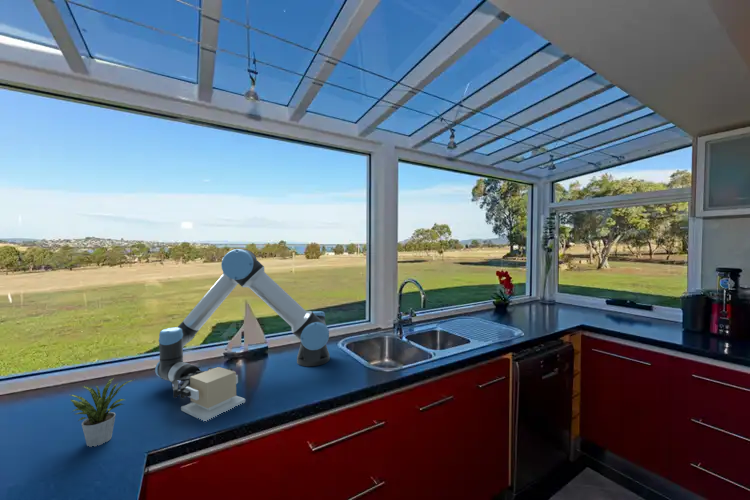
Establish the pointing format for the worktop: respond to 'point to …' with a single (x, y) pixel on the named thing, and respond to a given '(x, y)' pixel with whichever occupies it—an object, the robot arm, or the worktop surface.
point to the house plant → (98, 415)
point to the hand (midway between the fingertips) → (218, 387)
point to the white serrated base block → (211, 408)
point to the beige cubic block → (214, 386)
